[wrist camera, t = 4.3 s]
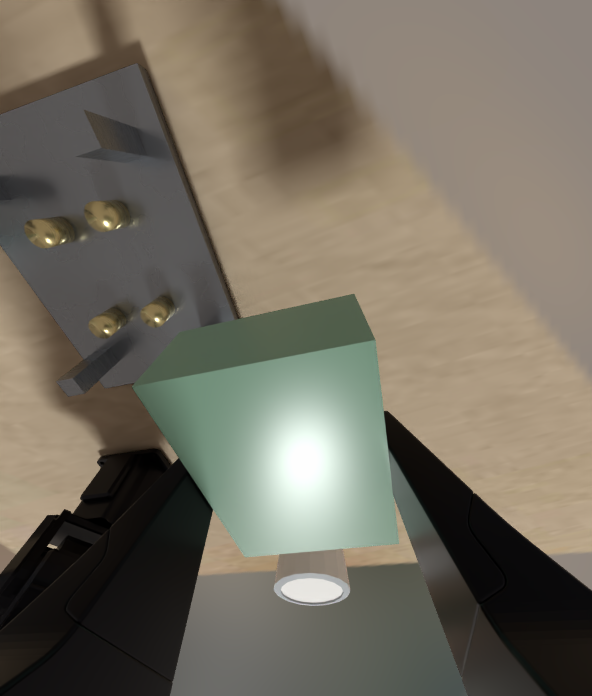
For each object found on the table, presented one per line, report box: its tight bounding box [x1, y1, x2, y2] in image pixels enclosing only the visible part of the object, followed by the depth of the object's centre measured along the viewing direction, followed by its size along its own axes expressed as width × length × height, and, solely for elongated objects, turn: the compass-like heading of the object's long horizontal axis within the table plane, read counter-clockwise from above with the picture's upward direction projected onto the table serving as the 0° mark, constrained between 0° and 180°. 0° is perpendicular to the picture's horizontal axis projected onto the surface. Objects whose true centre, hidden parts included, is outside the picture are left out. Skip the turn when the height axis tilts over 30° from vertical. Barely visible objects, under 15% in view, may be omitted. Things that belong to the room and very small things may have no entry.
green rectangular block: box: [132, 294, 399, 557], centre depth 9 cm, size 8×6×3 cm
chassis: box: [0, 63, 239, 397], centre depth 16 cm, size 16×12×4 cm
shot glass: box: [274, 549, 350, 606], centre depth 28 cm, size 7×7×7 cm
